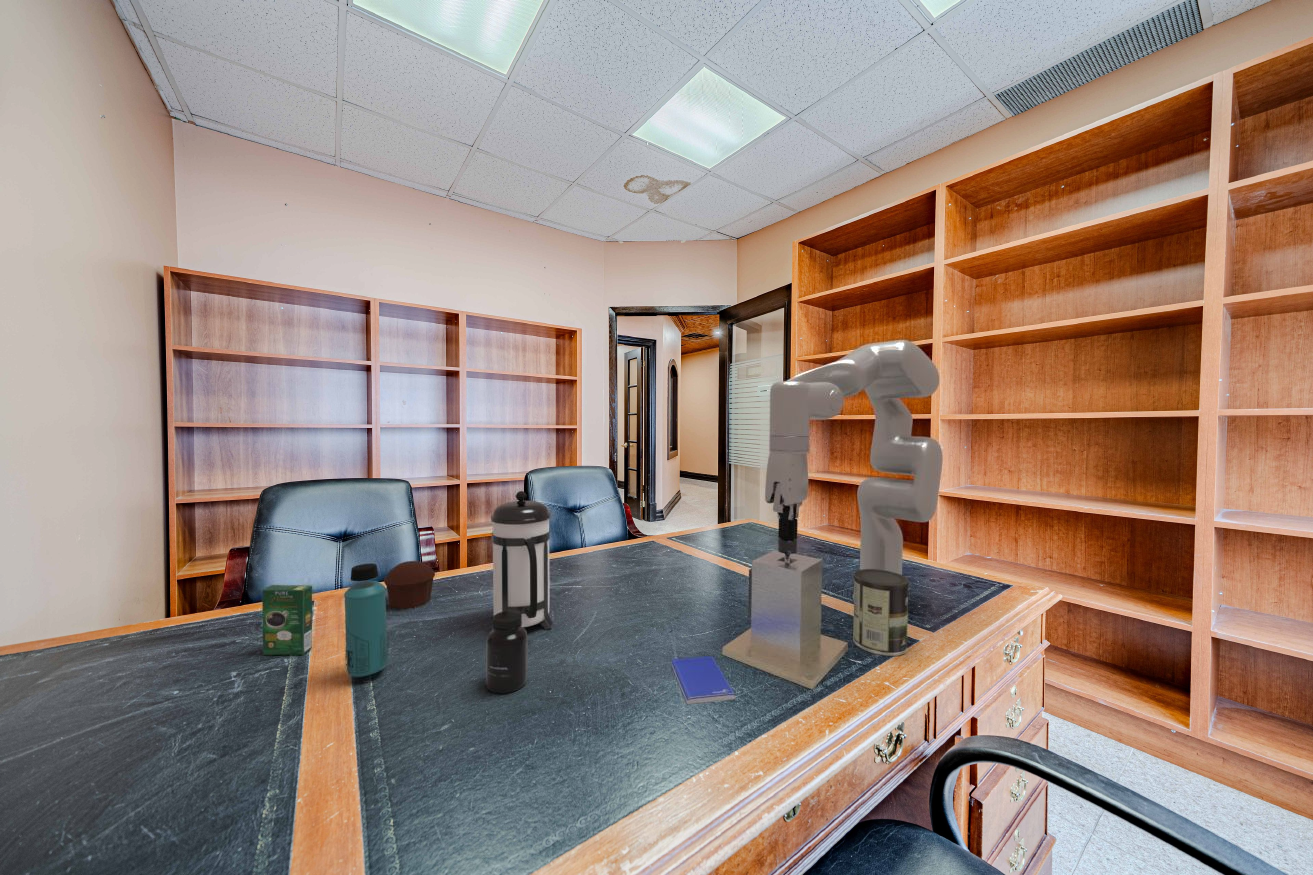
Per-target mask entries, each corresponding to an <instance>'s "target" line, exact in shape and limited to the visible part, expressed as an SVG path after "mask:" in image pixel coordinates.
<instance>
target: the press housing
mask: <svg viewBox="0 0 1313 875" xmlns="http://www.w3.org/2000/svg"><path fill="white" fill-rule="evenodd" d="M822 580H823V559H822V558H819V557H818V558H816V557H811V556H807V555H803V554H802V555H801V554H797V553H795V554H790V563H787V562H785V553H781V552H779V551H778V549H774V550H772V551H769V552H768V553H766V554H764V555H761V556H760V557H758V558H755V559H754V560H752V561H751V568H750V569H748V605H747V606H748V609H747V610H748V612H747V613H748V615H747V616H748V618H750V626H751V627H750V628H749V629H746V631H744V632H742V633H741V634H740V635H738V636H737V637H735V638H734V639H732V640H731V641H729V642H728V643H727V644H725V645H723V646H722V655H723V656H725V657H727V658H730V659H733V660H734V661H737V662H740V663H742V664H746V665H748V666H750V667H752V668H755V669H758V670H760V671H763V672H766V673H769V674H771V675H772V676H773V675H774V676H775V677H779V678H781V679H783V680H786V681H789V682H791V683H794V684H797V685H800V686H801V687H804V688H807V689H810V690H813V689H814V688H816V686H817V685H818V684H819V683H820V682H821V681H822V679H823V678H825V676H826V675H828V673H829V672H830V670H831V669H833V667H834V666H835V665H836V664H837V663H838V662H839V661H840V660H841V659H842V657H844V655H845V654H846V653H847V652H848V651H849V650H848V649H849V643H848V642H846V641H843V640H840V639H836V638H833V637H829V636H826V635H823V634H822V590H823V588H822V586H823V585H822V584H823V581H822Z"/></svg>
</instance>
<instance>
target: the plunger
mask: <svg viewBox="0 0 1313 875" xmlns="http://www.w3.org/2000/svg"><path fill="white" fill-rule="evenodd" d="M777 550H778V551H779V552H781V553H785V562H787V563H790V554H797V553H798V538H797V539H795V540H793V541H791V540H786V539H780V538H779V537H778V538H777Z"/></svg>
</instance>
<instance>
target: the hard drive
mask: <svg viewBox="0 0 1313 875" xmlns="http://www.w3.org/2000/svg"><path fill="white" fill-rule="evenodd" d="M670 661H671V662H670V663H671V664H670V665H671V668H672V670H673V673H674V675H675V677H676V680H677V682H678V685H679V688H680V690H681V692H682V695H683V697H684V700H685V702H686V704H687V705H694V704H702V703H704V704H705V703H710V702H721V701H730V700H735V699H736V693H735V692H734V689H733V688H732V687H731V685H730V683H729V682H728V680H727V677H725V675H724V673H723V672H722V669H721V667H720V666H719V665H718V663H717V662H716V660H715V658H714V656H698V657H688V658H686V657H685V658H675V659H672V660H670Z"/></svg>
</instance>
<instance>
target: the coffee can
mask: <svg viewBox="0 0 1313 875" xmlns="http://www.w3.org/2000/svg"><path fill="white" fill-rule="evenodd" d="M909 586H910V579H909V578H908V577H906V576H904V575H903V574H902V575H900V574H898V573H894V572H890V571H885V570H878V569H863V570H860V569H858V570H855V571H854V572H853V593H854V600H853V631H852V632H853V633H852V634H853V635H852V641H853V643H854V644H855V645H856V646H857V647H858V648H860V649H862V650H863V651H866V652H868V653H871V654H875V655H877V656H878V655H879V656H884V657H885V656H886V657H898V656H903V655H905V654H906V653H907V652H908V621H909V620H908V618H909V617H908V616H909Z"/></svg>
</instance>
